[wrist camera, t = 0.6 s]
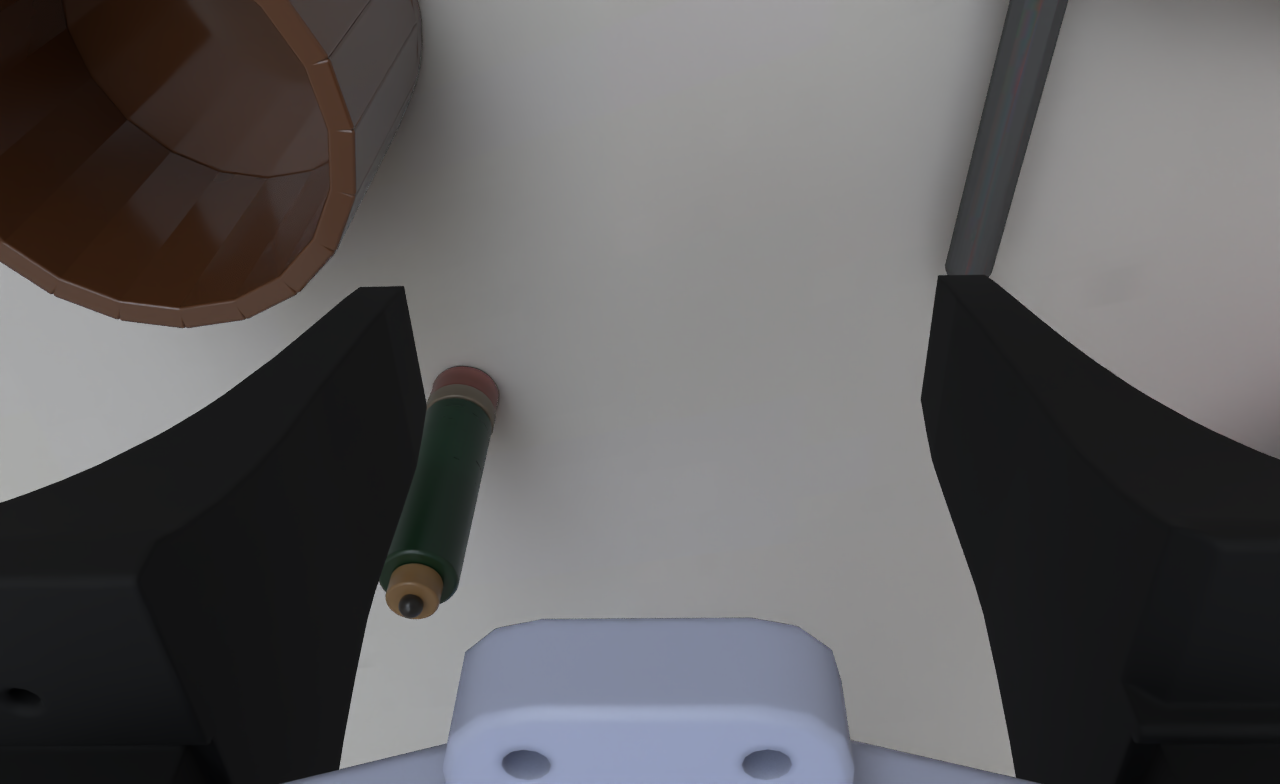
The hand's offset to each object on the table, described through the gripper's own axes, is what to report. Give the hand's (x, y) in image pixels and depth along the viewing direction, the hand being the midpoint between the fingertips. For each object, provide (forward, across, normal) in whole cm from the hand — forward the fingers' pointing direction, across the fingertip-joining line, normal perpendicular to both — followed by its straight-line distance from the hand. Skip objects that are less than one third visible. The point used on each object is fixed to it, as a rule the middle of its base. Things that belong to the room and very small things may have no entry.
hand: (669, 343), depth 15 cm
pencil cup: (+10, +9, -2) cm, 13 cm away
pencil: (+10, +6, +8) cm, 14 cm away
